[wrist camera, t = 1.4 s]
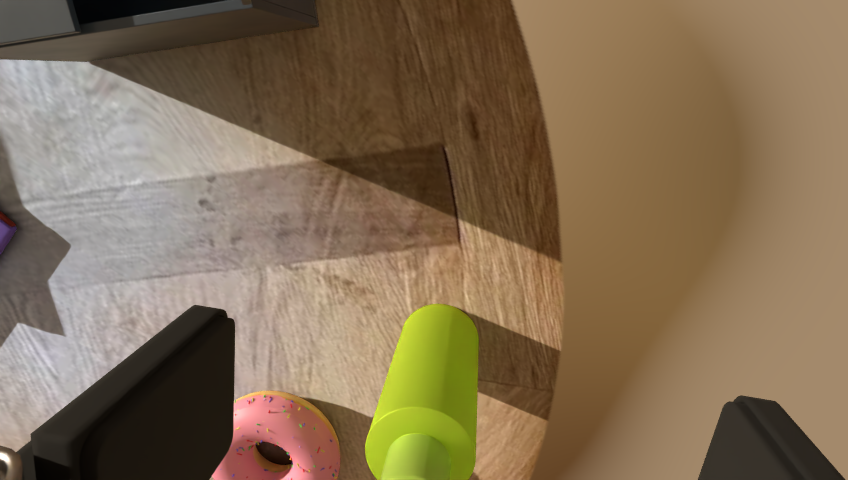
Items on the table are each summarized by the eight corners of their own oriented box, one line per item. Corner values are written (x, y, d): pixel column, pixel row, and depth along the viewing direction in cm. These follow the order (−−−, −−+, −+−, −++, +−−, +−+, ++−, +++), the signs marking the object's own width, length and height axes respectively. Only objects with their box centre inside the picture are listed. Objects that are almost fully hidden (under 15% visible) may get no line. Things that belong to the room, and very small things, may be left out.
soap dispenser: (441, 396, 42) (405, 659, 23) (386, 331, 41) (299, 552, 22) (502, 357, 41) (517, 607, 22) (446, 289, 40) (410, 488, 21)
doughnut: (246, 499, 47) (224, 538, 43) (200, 392, 45) (172, 424, 41) (362, 482, 46) (351, 521, 42) (322, 369, 43) (305, 399, 39)
